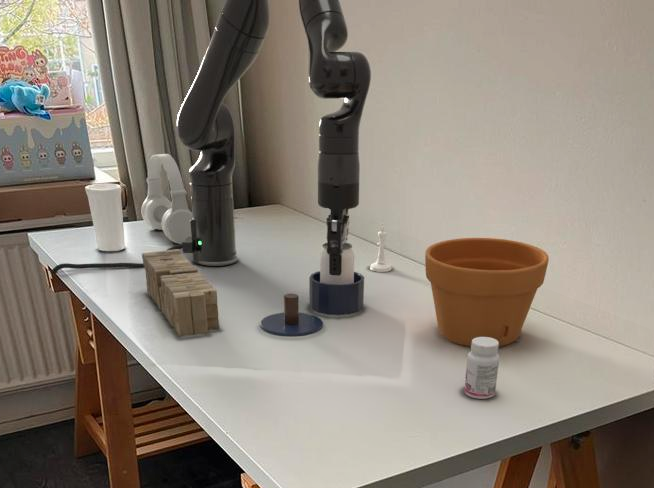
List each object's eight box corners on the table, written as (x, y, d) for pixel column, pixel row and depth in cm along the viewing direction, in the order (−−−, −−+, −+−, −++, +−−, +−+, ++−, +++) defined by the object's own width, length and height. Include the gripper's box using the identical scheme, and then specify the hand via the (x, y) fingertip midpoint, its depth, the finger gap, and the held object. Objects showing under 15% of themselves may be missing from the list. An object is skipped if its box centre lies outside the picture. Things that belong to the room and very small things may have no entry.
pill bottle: (460, 386, 121) (466, 335, 117) (490, 386, 122) (497, 335, 117) (467, 400, 117) (473, 347, 113) (498, 399, 118) (505, 346, 113)
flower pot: (462, 363, 129) (471, 275, 122) (398, 324, 145) (402, 244, 138) (561, 344, 138) (575, 260, 130) (490, 308, 154) (499, 232, 146)
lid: (255, 337, 138) (253, 304, 135) (266, 316, 148) (265, 284, 144) (318, 341, 137) (318, 307, 134) (326, 319, 147) (326, 287, 144)
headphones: (200, 242, 193) (194, 159, 182) (168, 246, 189) (159, 162, 179) (172, 225, 207) (165, 147, 197) (142, 229, 203) (132, 149, 193)
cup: (136, 248, 187) (128, 186, 180) (110, 255, 181) (102, 191, 174) (112, 243, 191) (104, 181, 183) (86, 250, 185) (77, 187, 177)
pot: (306, 316, 148) (306, 284, 145) (313, 299, 157) (313, 268, 154) (360, 319, 147) (361, 286, 144) (365, 301, 156) (366, 270, 153)
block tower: (222, 338, 140) (183, 286, 162) (219, 293, 135) (180, 246, 157) (178, 344, 137) (145, 290, 159) (174, 297, 132) (141, 249, 154)
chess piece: (392, 266, 178) (394, 221, 173) (391, 272, 174) (393, 226, 169) (370, 265, 178) (372, 220, 173) (369, 271, 174) (370, 225, 169)
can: (357, 304, 154) (359, 243, 147) (346, 314, 148) (348, 251, 142) (326, 300, 155) (327, 239, 149) (315, 310, 150) (315, 247, 144)
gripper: (322, 171, 146) (322, 257, 154) (312, 185, 134) (313, 278, 142) (362, 172, 145) (360, 259, 154) (356, 186, 133) (354, 280, 142)
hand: (337, 268), depth 148 cm, fingers open, 8 cm apart
